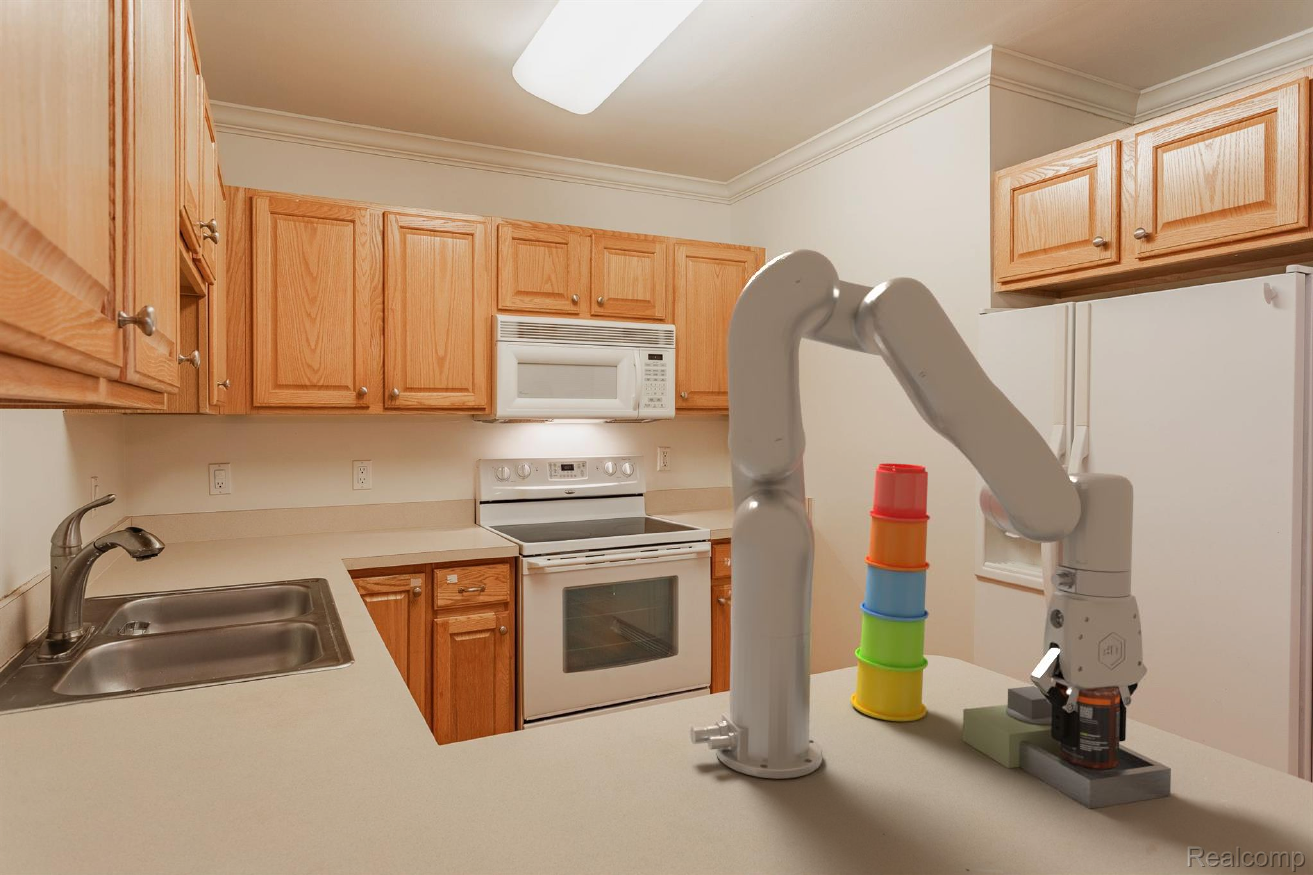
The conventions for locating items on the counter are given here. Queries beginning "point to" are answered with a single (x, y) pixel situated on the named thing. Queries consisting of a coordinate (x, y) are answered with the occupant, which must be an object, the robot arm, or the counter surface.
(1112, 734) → the supplement bottle
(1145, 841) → the counter surface
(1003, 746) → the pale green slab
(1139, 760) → the grey square tray
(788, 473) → the robot arm
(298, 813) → the counter surface
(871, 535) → the stacking cups
